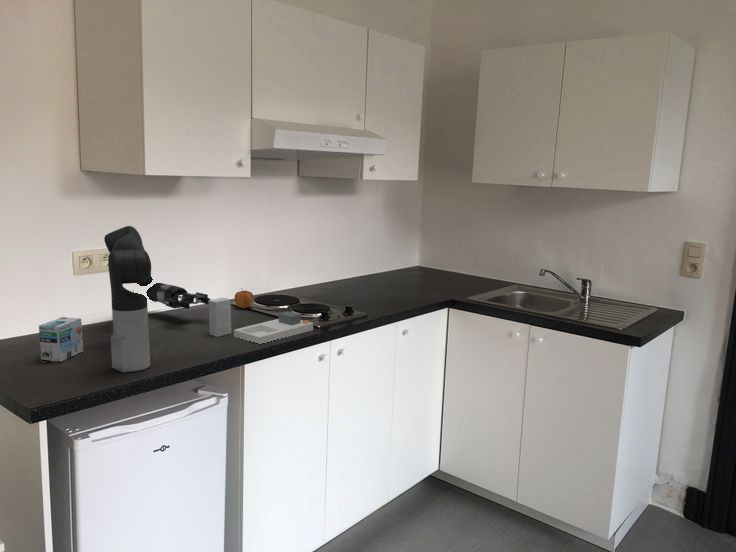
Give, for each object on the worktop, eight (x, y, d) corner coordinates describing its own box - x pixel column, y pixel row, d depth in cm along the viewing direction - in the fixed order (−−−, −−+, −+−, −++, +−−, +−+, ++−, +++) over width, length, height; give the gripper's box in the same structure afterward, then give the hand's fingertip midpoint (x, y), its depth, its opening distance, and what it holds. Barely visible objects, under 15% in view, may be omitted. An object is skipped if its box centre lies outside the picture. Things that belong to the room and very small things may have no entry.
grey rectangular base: (260, 344, 198) (259, 328, 197) (234, 337, 206) (233, 320, 205) (313, 330, 216) (313, 314, 215) (287, 323, 224) (287, 308, 223)
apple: (244, 311, 240) (243, 291, 239) (230, 308, 244) (230, 288, 243) (257, 307, 246) (257, 288, 245) (244, 305, 250) (243, 285, 249)
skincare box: (223, 331, 213) (222, 297, 210) (231, 333, 210) (230, 299, 208) (209, 334, 208) (207, 300, 206) (216, 337, 205) (215, 302, 203)
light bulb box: (61, 363, 177) (58, 326, 175) (40, 361, 178) (37, 325, 176) (84, 352, 187) (82, 317, 185) (64, 350, 189) (61, 316, 187)
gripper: (154, 288, 218) (181, 296, 208) (188, 282, 229) (216, 289, 219) (155, 309, 220) (182, 318, 210) (189, 302, 231) (216, 310, 221)
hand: (199, 303), depth 215 cm, fingers open, 8 cm apart
